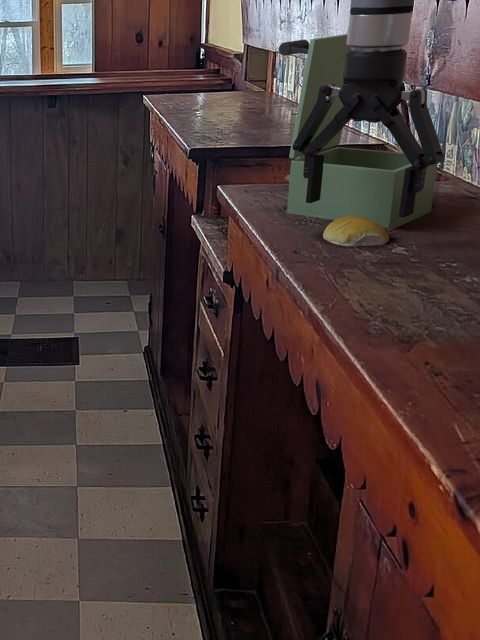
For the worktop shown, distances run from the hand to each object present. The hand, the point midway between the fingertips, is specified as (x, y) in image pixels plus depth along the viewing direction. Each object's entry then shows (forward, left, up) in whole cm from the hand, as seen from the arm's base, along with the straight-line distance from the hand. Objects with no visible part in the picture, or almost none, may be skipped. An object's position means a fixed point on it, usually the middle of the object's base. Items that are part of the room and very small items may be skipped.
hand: (357, 208), depth 121 cm
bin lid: (+15, -17, +13) cm, 26 cm away
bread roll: (0, 0, -6) cm, 6 cm away
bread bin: (+8, -17, -5) cm, 19 cm away
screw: (+25, -28, -6) cm, 38 cm away
